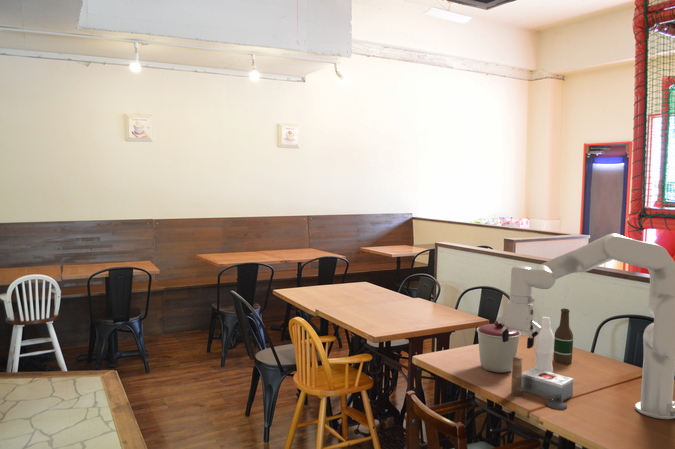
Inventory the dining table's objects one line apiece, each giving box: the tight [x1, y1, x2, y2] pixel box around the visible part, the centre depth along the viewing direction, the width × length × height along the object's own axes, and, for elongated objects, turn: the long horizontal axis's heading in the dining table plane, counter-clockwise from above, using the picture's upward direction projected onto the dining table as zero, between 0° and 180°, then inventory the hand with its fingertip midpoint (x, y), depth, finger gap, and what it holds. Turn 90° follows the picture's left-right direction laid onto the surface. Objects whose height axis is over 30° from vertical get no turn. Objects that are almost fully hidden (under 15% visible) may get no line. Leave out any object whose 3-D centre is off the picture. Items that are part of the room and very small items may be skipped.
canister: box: [476, 319, 522, 374], centre depth 230 cm, size 18×18×21 cm
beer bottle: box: [552, 307, 574, 366], centre depth 241 cm, size 8×8×24 cm
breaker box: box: [521, 367, 574, 402], centre depth 205 cm, size 16×10×6 cm, turn 45°
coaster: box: [545, 399, 568, 411], centre depth 193 cm, size 7×7×1 cm
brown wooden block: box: [510, 355, 523, 397], centre depth 203 cm, size 3×3×14 cm
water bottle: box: [533, 316, 555, 373], centre depth 220 cm, size 7×7×25 cm
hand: (517, 344), depth 202 cm, fingers open, 9 cm apart
